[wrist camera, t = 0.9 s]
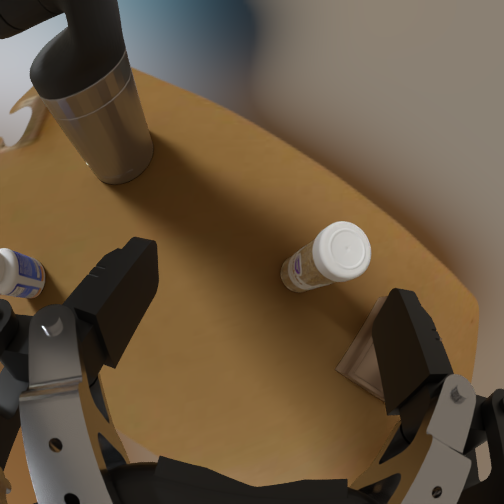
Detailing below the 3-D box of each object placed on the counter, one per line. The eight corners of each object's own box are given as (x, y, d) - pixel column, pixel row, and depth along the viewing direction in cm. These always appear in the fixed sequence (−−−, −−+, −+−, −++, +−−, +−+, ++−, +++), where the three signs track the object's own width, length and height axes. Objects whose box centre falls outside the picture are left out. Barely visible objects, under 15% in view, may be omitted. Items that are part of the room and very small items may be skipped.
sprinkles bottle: (274, 261, 33) (311, 227, 20) (309, 251, 34) (360, 213, 21) (286, 298, 32) (332, 287, 19) (321, 286, 33) (381, 268, 20)
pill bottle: (25, 254, 29) (-18, 236, 20) (50, 265, 29) (6, 248, 20) (16, 291, 28) (-29, 282, 18) (41, 304, 28) (-5, 298, 19)
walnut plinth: (334, 369, 31) (348, 375, 27) (378, 297, 34) (395, 294, 30) (388, 404, 31) (405, 411, 27) (426, 338, 33) (443, 339, 30)
